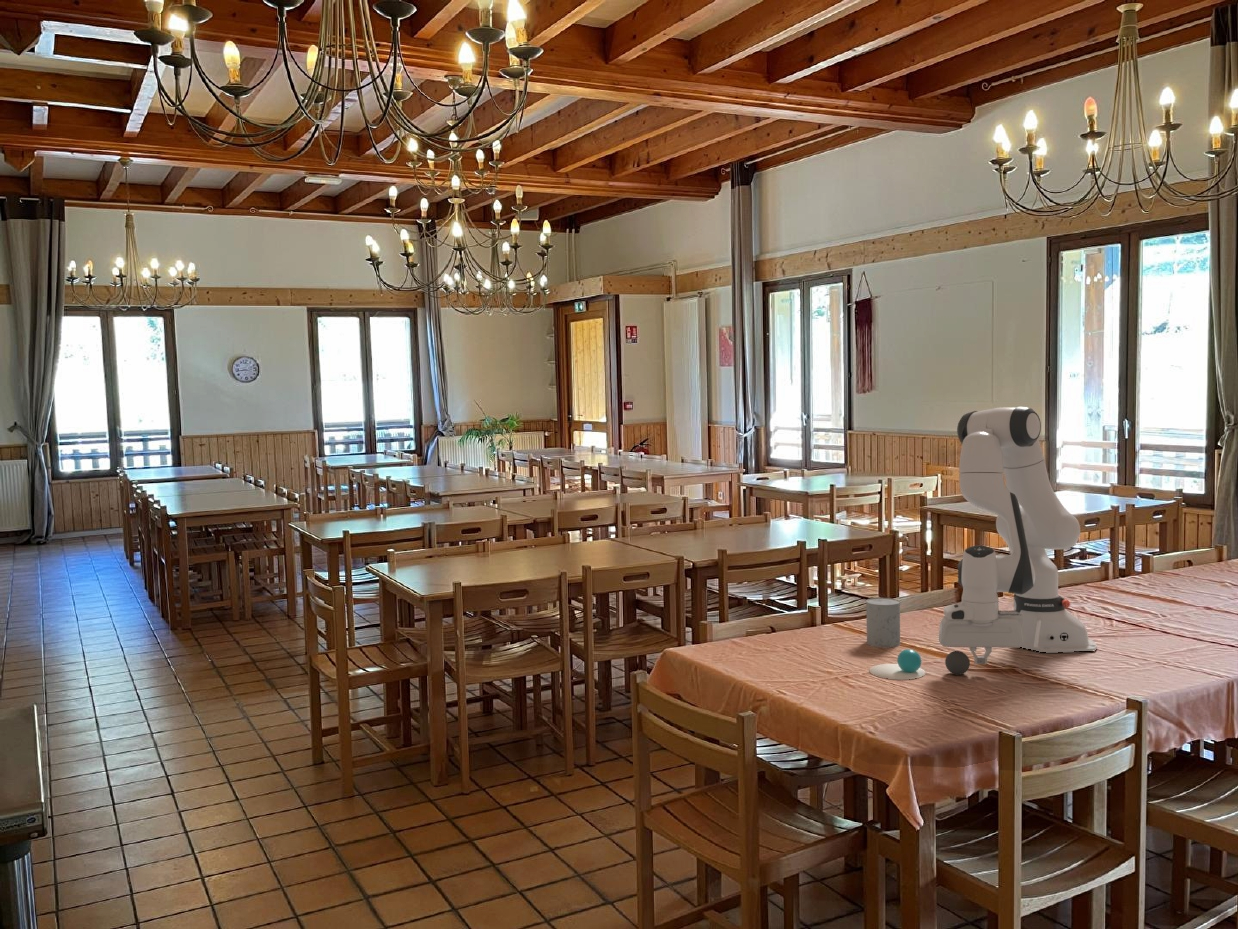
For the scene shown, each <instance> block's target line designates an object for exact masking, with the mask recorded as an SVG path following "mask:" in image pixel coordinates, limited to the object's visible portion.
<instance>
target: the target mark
mask: <svg viewBox="0 0 1238 929" xmlns="http://www.w3.org/2000/svg"><path fill="white" fill-rule="evenodd" d="M869 672H870V674H871V675H873V676H874V677H875V676H876V677H878V678H882V679H886V678H888V679H887V680H895V681H896V680H897V681H907V680H909V679H910V680H916V679H915V678H917V679H920V678H923V677H925V675H926V671H925V670H924V669H923V668H921V667H920V668H919V669H918V670H917V671H915V672H912V673H908V672H905V671H903V670H902V669H901V668H900V667H899V665H898V663H883V664H878V665H876V664H875V665H874V666H871V667H870V668H869ZM922 676H923V677H922Z"/></svg>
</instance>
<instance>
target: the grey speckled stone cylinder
mask: <svg viewBox="0 0 1238 929" xmlns="http://www.w3.org/2000/svg"><path fill="white" fill-rule="evenodd" d="M865 603H866V608H865V609H866V644H867V645H869V646H870V647H875V648H883V647H886V648H887V649H888V648H895V647H899V646H901V601H900V600H899V599H895V598H889V597H873V598H868V599H866V600H865Z"/></svg>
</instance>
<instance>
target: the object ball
mask: <svg viewBox="0 0 1238 929" xmlns="http://www.w3.org/2000/svg"><path fill="white" fill-rule="evenodd" d="M896 660H897V664H898V665H899V667H900V668H901V669H902V670H903V671H905V672H908V673H912V672H915V671H917V670H918V669H919V668H921V666H922V657H921V655H920V654H919V653H918V652H917V651H916V650H914V649H911V648H909V649H908V648H907V649H904V650H901V651H900V653H899V654H898V656H897V659H896Z"/></svg>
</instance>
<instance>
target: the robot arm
mask: <svg viewBox="0 0 1238 929" xmlns="http://www.w3.org/2000/svg"><path fill="white" fill-rule="evenodd" d="M956 430H957V431H956V433H957V437H958V439H959V442H960V443H961V448H960V449H961V450H960V455H959V465H958V466H959V468H958V469H959V470H958V480H959V490H960V491H959V492H960V493H961V495H962V497H963V498H964V500H966V501H967V502H968V503H970V504H971V505H973V506H975V507H977V508H980V509H982V510H985V511H987V512H991V513H993V514H995V515H997V517H996V520H995V528H996V531H997V533H998V535H999V536H1000V537H1001V538H1002V539H1003V540H1004V542H1005V543H1006V545H1007V548H1008V550H1009V552H1010V554H1007V555H1006V554H1005V555H1004V554H996V550H994V549H993V548H992V547H990V546H986V545H972V546H968V547H966V548H964V551H963V556H962V559H960V561H959V562H958V563H957V583H958V584H959V585H960V586H961V587H962V589H963V590H962V594H961V601H960V602H956V603H953V604H949V605H945V606H944V608H943V615H944V616H943V617H942V618H941V620H940V622H939V630H938V643H939V644H940V645H941V646H942V647H943V648H969V651H970V652H971V654H972V656H973V659H974V660H973V661H974V664H975V665H988V658H989V656H990V655H991V653H992V650H993V649H992V648H1010V649H1011V648H1012V649H1014V648H1015V649H1017V648H1018V649H1019V648H1020V647H1023V648H1026V649H1025V650H1028V649H1031V650H1030V651H1033V650H1036V651H1039V652H1038V653H1040V652H1046V653H1045V654H1054V653H1058V652H1063V653H1075V652H1074V651H1093V650H1096V649H1097V650H1098V645H1097V643H1096V641H1094V640H1093V639H1091V638H1089V634H1088V630H1087V627H1086V625H1085V624H1084V623H1083V621H1081V620H1080V619H1079V618H1077V617H1076V616H1075V615H1074V614H1072V613H1071V612H1069V611H1068V610H1067V609H1066V608H1069V607H1070V606H1071V602H1070V601H1069V599H1066V598H1064V597H1062V596H1061V595H1059V570H1058V567H1057V565H1056V564H1055V563H1054V562H1053V561H1052V560H1051V558H1049V555H1048V554H1047V552H1046V549H1048V550H1054V551H1055V550H1067V549H1071V548H1072V547H1074V546H1075V545H1076V544H1077V542H1078V541H1079V539H1080V536H1081V525H1080V522H1079V520H1078V519H1077V517H1076V516H1075V515H1073V514H1072V513H1070V512H1069V511H1068V510H1067V509H1066V508H1065V507H1064V505H1063V503H1061V501H1060V499H1059V498H1058V496H1057V494H1056V493H1055V491H1054V489H1053V487H1052V485H1051V482H1050V479H1049V478H1050V477H1049V473H1048V469H1047V466H1046V460H1045V456H1044V452H1043V448H1042V445H1041V442H1040V439H1039V438H1040V435H1041V433H1042V431H1041V430H1042V422H1041V419H1040V416H1039V414H1038V413H1037V412H1036V411H1035V410H1034V409H1033V408H1031V407H1027V406H1017V407H1015V406H1014V407H1012V406H1010V407H1007V406H1006V407H1003V406H1002V407H995V408H989V409H983V410H980V411H979V410H974V411H970V412H966V413H964V414H963V415H962V416H961V418H960V419H959V421H958V423H957V429H956ZM998 593H1008V594H1013V604H1012V605H1013V610H1000V609H999V596H998ZM977 648H984V650H985V652H984V654H983V655H977V654H976V652H977ZM1023 648H1022V649H1023ZM1020 649H1021V648H1020ZM1097 650H1096V651H1097ZM1036 651H1035V652H1036ZM1058 654H1059V653H1058Z"/></svg>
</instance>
